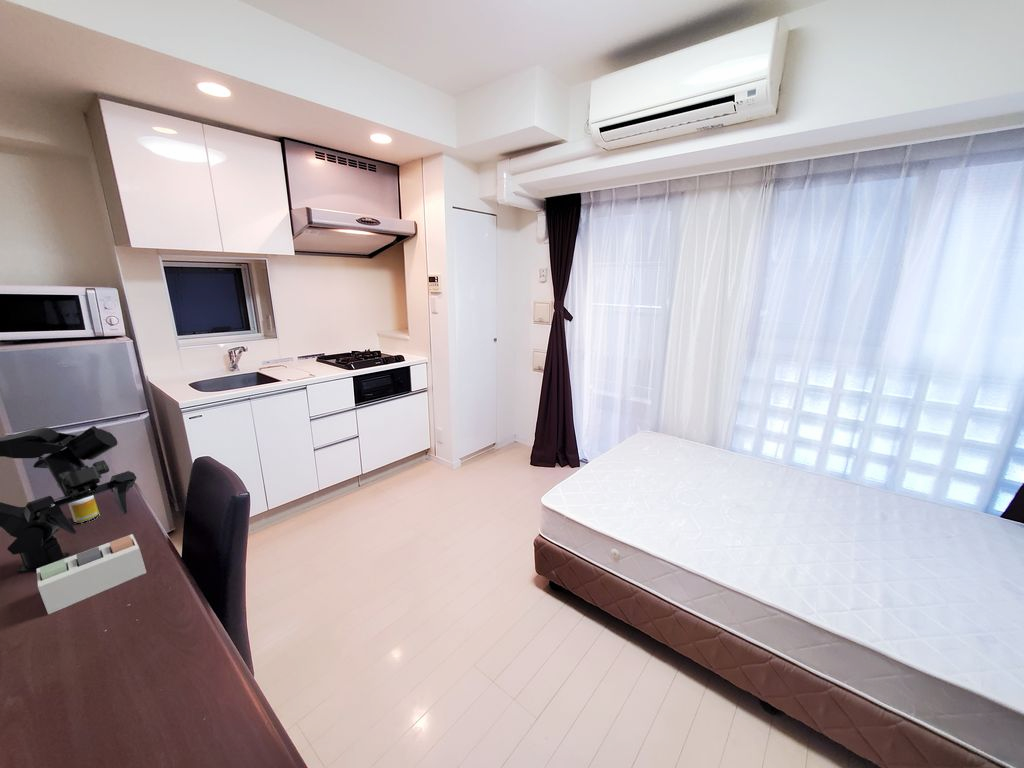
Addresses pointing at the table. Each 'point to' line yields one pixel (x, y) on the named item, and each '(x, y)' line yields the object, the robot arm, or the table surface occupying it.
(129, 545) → the terracotta button
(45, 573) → the sage-green button
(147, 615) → the table surface
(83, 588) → the button console
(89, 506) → the supplement bottle
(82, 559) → the charcoal button
